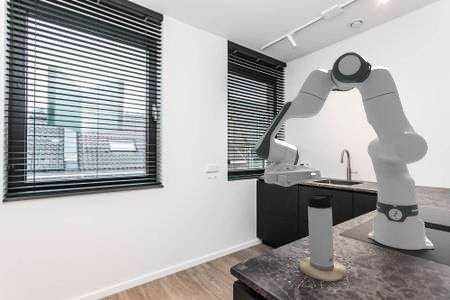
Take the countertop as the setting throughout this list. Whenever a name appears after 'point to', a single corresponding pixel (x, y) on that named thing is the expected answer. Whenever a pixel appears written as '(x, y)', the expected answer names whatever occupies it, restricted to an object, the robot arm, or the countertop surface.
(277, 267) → the countertop surface
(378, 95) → the robot arm
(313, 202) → the travel mug
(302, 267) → the gold round coaster
